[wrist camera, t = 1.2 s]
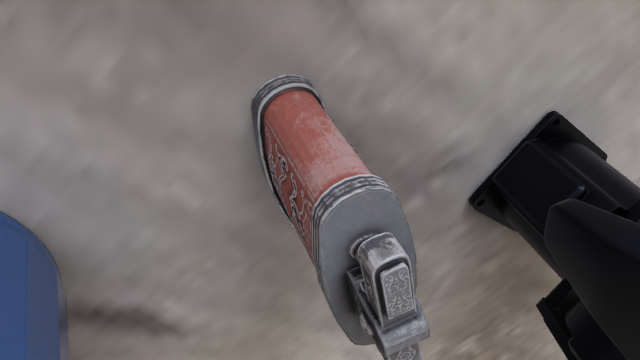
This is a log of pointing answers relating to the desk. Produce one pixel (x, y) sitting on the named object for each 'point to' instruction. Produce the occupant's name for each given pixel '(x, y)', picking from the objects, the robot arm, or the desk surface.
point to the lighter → (340, 218)
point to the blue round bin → (30, 298)
